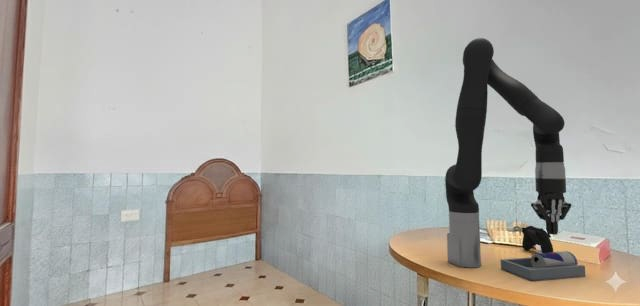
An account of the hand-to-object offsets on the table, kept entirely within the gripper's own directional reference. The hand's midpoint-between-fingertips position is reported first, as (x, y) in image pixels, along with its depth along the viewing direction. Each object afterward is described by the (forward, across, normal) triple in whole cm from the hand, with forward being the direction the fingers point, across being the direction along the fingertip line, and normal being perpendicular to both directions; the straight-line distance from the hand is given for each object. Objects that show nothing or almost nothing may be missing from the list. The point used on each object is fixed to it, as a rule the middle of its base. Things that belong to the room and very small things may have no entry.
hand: (552, 233), depth 94 cm
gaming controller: (+12, +13, +18) cm, 25 cm away
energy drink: (+8, +6, 0) cm, 10 cm away
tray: (+11, -4, 0) cm, 12 cm away
